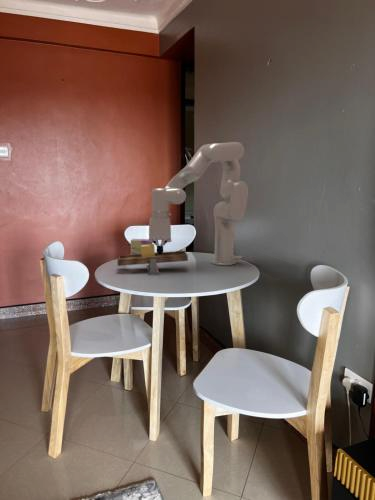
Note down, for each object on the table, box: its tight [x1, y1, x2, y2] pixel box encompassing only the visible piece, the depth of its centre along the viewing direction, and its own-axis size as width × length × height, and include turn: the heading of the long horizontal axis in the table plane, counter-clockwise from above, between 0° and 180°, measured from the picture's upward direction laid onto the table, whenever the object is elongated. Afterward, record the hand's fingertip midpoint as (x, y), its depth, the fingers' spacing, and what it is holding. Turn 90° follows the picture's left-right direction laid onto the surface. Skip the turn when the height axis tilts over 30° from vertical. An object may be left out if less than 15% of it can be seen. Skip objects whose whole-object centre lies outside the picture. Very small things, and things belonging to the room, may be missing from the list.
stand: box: [146, 258, 160, 276], centre depth 178 cm, size 5×17×7 cm, turn 7°
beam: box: [117, 250, 189, 267], centre depth 178 cm, size 32×10×3 cm, turn 97°
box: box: [130, 238, 153, 255], centre depth 196 cm, size 10×6×12 cm, turn 84°
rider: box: [141, 243, 156, 258], centre depth 177 cm, size 6×5×6 cm
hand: (159, 254), depth 178 cm, fingers closed
